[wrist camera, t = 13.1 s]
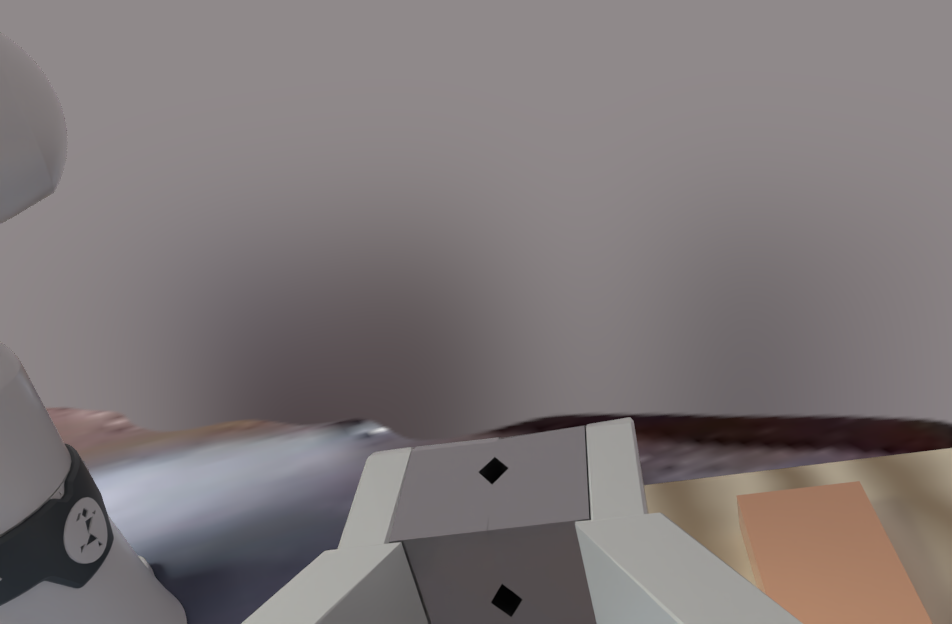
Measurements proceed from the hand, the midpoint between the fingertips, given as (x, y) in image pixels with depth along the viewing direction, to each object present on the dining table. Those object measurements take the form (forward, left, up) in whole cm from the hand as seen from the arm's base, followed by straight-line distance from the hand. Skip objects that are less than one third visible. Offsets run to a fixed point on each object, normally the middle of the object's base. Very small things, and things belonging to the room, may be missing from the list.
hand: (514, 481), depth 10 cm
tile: (+10, +19, -30) cm, 37 cm away
